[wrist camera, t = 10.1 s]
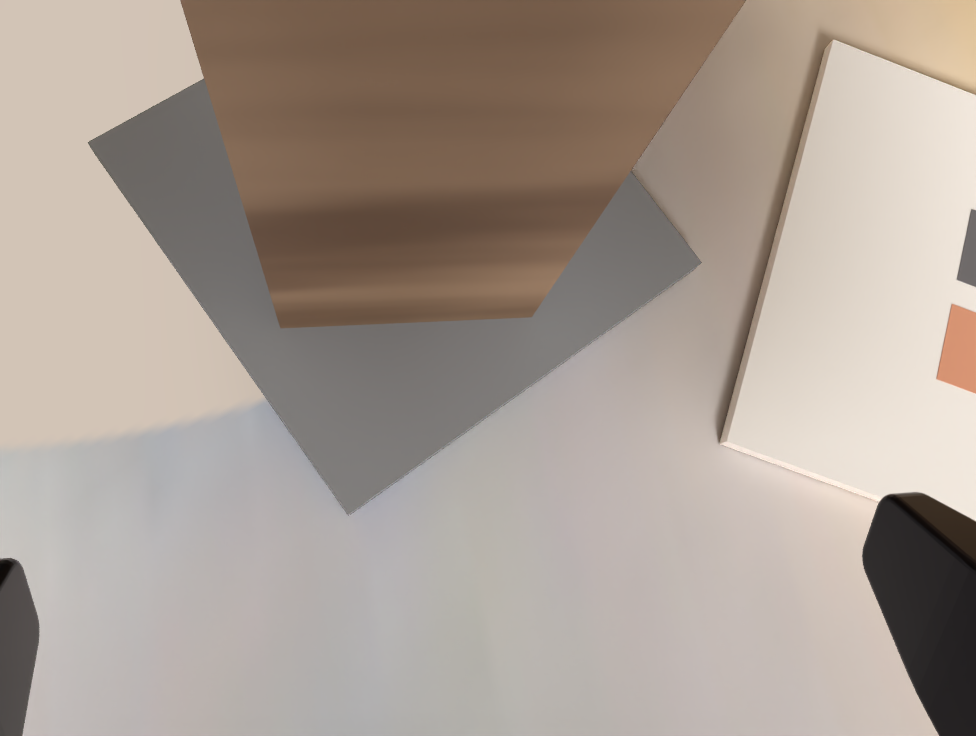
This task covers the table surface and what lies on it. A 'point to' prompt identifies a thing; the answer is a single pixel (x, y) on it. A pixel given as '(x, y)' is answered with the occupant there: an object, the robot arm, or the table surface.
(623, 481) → the table surface
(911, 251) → the tile
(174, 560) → the table surface
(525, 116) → the walnut post
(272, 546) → the table surface
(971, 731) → the robot arm
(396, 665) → the table surface
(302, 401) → the grey pad
